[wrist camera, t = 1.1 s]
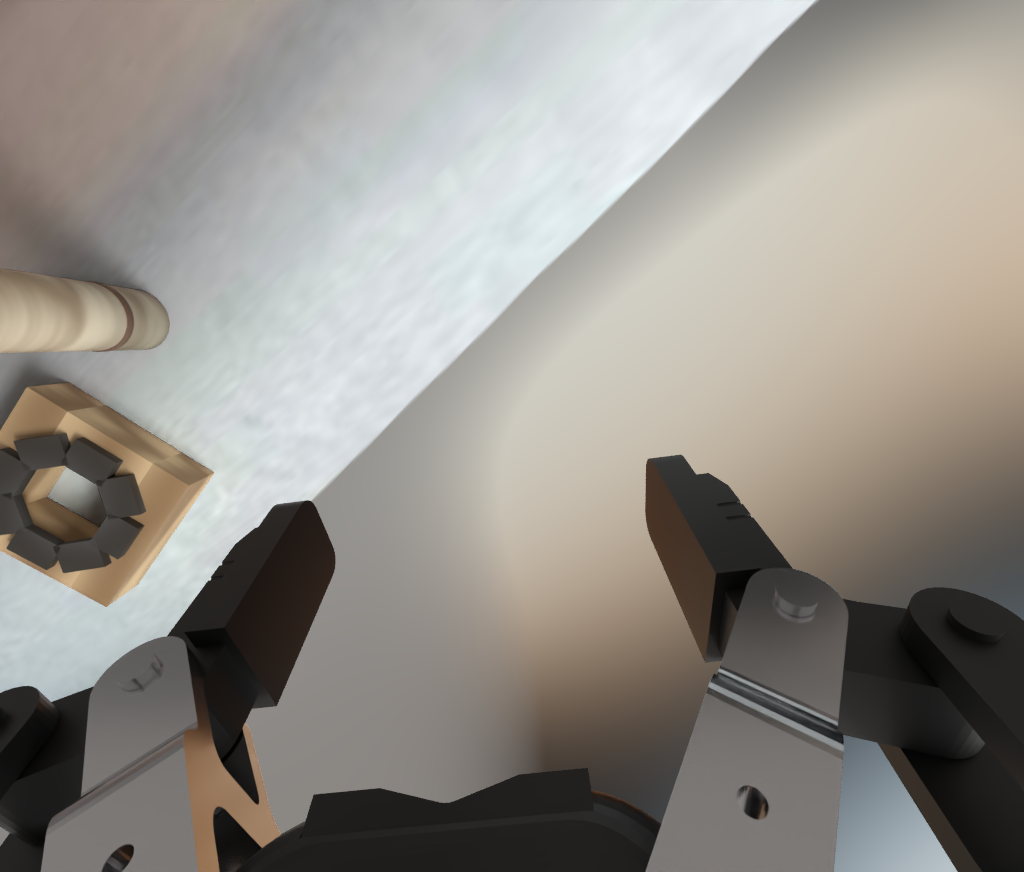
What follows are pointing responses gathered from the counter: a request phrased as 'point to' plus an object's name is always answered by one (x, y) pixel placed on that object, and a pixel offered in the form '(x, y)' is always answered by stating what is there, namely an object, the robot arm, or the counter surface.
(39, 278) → the dowel
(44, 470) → the socket
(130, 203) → the counter surface
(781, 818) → the robot arm
